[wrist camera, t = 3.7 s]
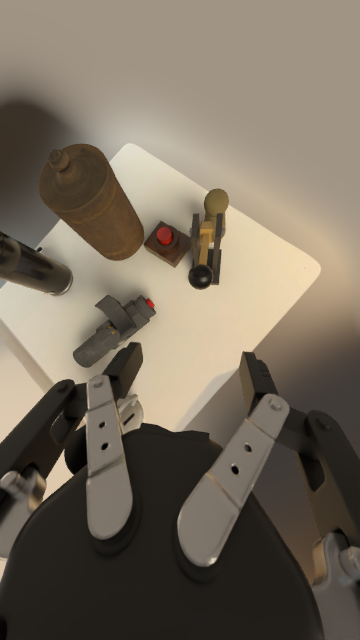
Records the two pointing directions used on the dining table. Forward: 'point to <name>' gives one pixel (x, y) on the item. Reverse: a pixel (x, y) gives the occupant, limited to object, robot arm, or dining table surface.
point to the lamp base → (168, 245)
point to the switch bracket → (213, 254)
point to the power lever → (203, 259)
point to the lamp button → (164, 235)
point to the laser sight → (114, 328)
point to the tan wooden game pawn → (215, 207)
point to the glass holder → (78, 444)
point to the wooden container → (91, 200)
